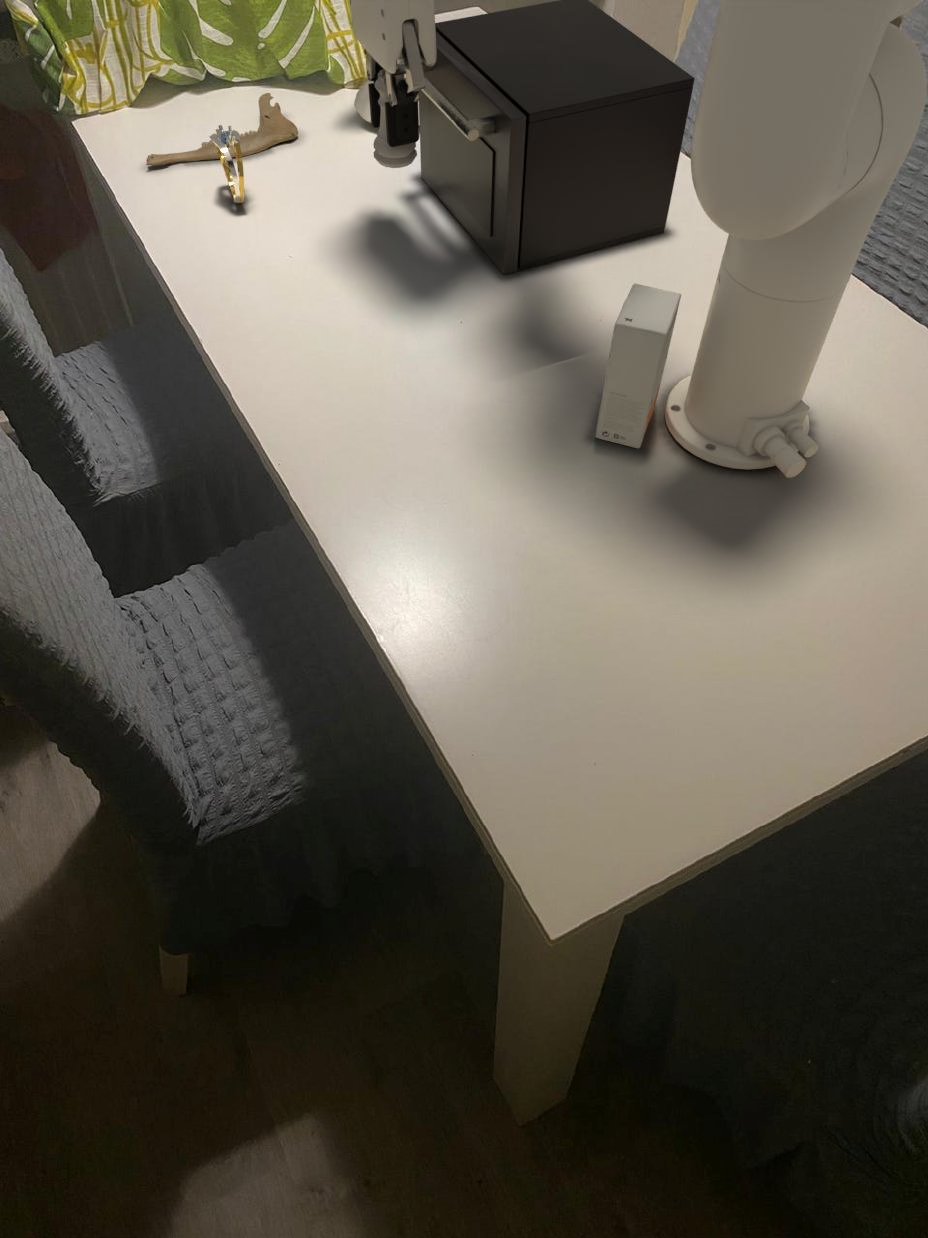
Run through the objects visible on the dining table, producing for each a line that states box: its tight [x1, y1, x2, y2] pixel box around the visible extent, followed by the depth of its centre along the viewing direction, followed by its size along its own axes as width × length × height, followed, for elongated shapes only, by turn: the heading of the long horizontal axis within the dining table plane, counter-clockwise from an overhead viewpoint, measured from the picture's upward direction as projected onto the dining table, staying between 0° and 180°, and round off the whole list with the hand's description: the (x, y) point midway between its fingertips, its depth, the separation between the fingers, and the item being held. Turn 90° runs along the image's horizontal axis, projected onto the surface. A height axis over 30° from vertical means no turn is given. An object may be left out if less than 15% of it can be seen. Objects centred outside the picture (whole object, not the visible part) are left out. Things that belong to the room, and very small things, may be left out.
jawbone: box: [145, 92, 299, 166], centre depth 109 cm, size 9×20×2 cm, turn 140°
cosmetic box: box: [594, 283, 682, 449], centre depth 76 cm, size 6×4×12 cm
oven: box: [435, 0, 696, 272], centre depth 97 cm, size 18×22×16 cm
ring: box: [208, 124, 245, 204], centre depth 100 cm, size 7×3×8 cm, turn 19°
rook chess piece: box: [373, 69, 418, 169], centre depth 88 cm, size 4×4×8 cm
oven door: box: [400, 32, 526, 276], centre depth 94 cm, size 5×22×16 cm, turn 25°
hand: (394, 131), depth 89 cm, fingers closed on rook chess piece, 3 cm apart
